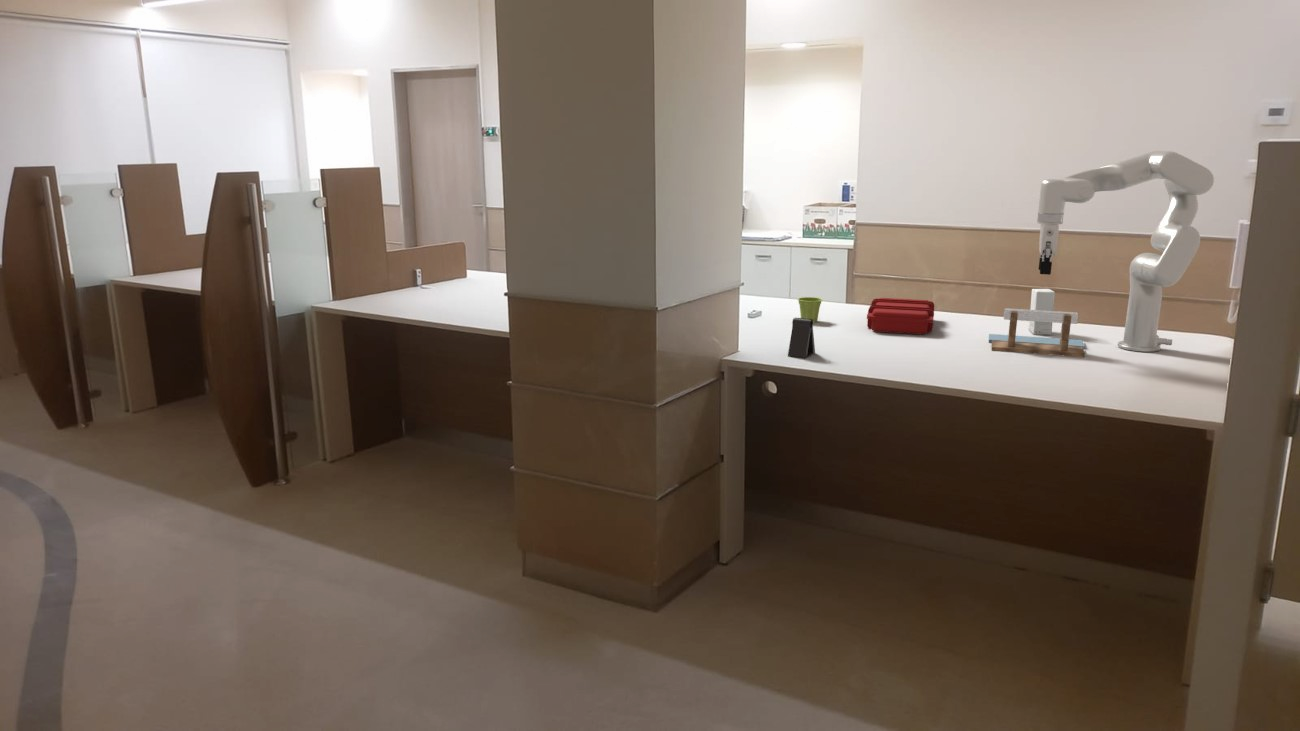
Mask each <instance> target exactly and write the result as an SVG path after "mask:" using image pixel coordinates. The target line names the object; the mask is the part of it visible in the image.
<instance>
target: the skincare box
mask: <svg viewBox="0 0 1300 731" xmlns="http://www.w3.org/2000/svg"><path fill="white" fill-rule="evenodd" d="M1055 295H1056V292H1055V291H1054V290H1052V289H1050V288H1032V289H1031V296H1030V297H1031V298H1030V309H1029V310H1044V311H1055V309H1054V307H1055ZM1028 322H1029V323H1028V331H1029V333H1031V334H1032V335H1036V336H1037V335H1039V336H1052V334H1053V333H1052V332H1053V322H1037V321H1028Z"/></svg>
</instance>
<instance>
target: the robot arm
mask: <svg viewBox="0 0 1300 731" xmlns="http://www.w3.org/2000/svg"><path fill="white" fill-rule="evenodd" d="M1155 179H1159V180H1164V181H1163V182H1164V187H1165V189H1166V191H1167V195H1168V204H1167V208H1166V210H1165V212H1164V213H1163V215H1162V217H1161V219H1160V220H1159V223H1158V224H1157V226H1156V227H1155V229H1154V231H1153V233H1152V234H1151V237H1150V245H1151V246H1152V248H1153V249H1155V250H1156V251H1159V252H1162V254H1159V253H1153V252H1143V253H1140V254H1138V255H1136V256H1135V257H1134V258H1133V259H1132V261H1131V262H1130V265H1129V294H1128V295H1129V296H1128V302H1127V310H1126V318H1125V324H1124V332H1123V334H1124V335H1123V340H1120V341H1118V342H1117V347H1118V348H1120V349H1123V350H1127V351H1132V352H1141V353H1142V352H1147V353H1153V352H1159V351H1160V350H1161V345H1165V346H1172V345H1173V339H1170V338H1163V337H1159V336H1158V328H1159V321H1160V316H1161V314H1160V313H1161V308H1162V307H1161V306H1162V300H1163V290H1162V287H1165V288H1167V287H1171V286H1174V285H1175V284H1177V283H1178V281H1180V279H1181V278H1182V277H1183V276H1184V274H1185V272H1186V271H1187V269H1188V267H1189V266H1190V264H1191V262H1192V261H1193V259H1194V257H1195V256H1196V254H1197V252H1198V250H1199V248H1200V245H1201V235H1200V234H1201V233H1200V232H1199V231H1198V229H1197V228H1195V227H1194V226H1191V225H1192V223H1193V221H1194V220H1195V218H1196V215H1197V214H1198V213H1197V212H1198V210H1199V202H1198V196H1201V195H1204V194H1206V193H1207V192H1209V191H1210V190H1211V189H1212V187H1213V186H1214V182H1215V177H1214V174H1213V172H1212V171H1210V169H1209V168H1207V167H1206V166H1204V165H1202V164H1199V163H1198V162H1196V161H1194V160H1192V159H1190V158H1189V157H1186V156H1184V155H1182V154H1180V153H1178V152H1175V151H1165V150H1164V151H1163V150H1155V151H1154V150H1153V151H1150V152H1147V153H1143V154H1141V155H1137V156H1134V157H1131V158H1127V159H1126V160H1122V161H1119V162H1116V163H1112V164H1108V165H1104V166H1100V167H1096V168H1092V169H1088V170H1085V171H1084V170H1083V171H1081V172H1078V173H1075V174H1072V175H1069V176H1066V177H1064V178H1062V179H1057V178H1055V179H1051V178H1050V179H1044V180H1042V182H1041V184H1040V191H1039V199H1038V200H1039V201H1038V209H1037V210H1038V211H1037V219H1036V224H1040V231H1039V240H1038V241H1039V244H1038V245H1039V246H1038V248H1039V254H1040V257H1039V261H1038V262H1039V263H1038V270H1039V274H1040V275H1049V276H1050V275H1051V274H1052V266H1053V262H1052V260H1053V258H1052V257H1053V256H1057V254H1058V252H1057V251H1058V242H1059V231H1060V229H1059V228H1060V225H1063V223H1064V214H1065V206H1066V203H1073V204H1084V203H1087V202H1088V201H1091V200H1092V198H1094V196H1095V193H1098V192H1112V191H1119V190H1124V189H1127V188H1128V189H1129V188H1131V187H1134V186H1136V185H1139V184H1142V183H1145V182H1149V181H1152V180H1155Z"/></svg>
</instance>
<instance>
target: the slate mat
mask: <svg viewBox="0 0 1300 731" xmlns="http://www.w3.org/2000/svg"><path fill="white" fill-rule="evenodd" d="M1008 335H1009V334H997V333H989V334H988V343H989V344H990V343H991V344H992V341H1005V342H1008ZM1015 342H1020V343H1034V344H1049V345H1060V338H1054V337H1043V336H1041V337H1040V336H1024V335H1016V337H1015ZM1068 346H1077V347H1083V350H1085V349H1086V346H1085V343H1084V341H1083V340H1082V339H1071V338H1069V343H1068Z"/></svg>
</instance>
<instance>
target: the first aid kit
mask: <svg viewBox="0 0 1300 731" xmlns="http://www.w3.org/2000/svg"><path fill="white" fill-rule="evenodd" d="M934 317H935V303H934V302H933V301H930V300H926V299H914V298H913V299H912V298H896V297H893V298H892V297H879V298H873V299H872V300H871V303H870V306H869V308H868V311H867V314H866V319H867V321H866V322H867V324H866V325H867V328H868V329H870V330H871V331H873V332H880V333H893V334H895V333H896V334H908V335H909V334H911V335H913V334H914V335H925V334H927V333H931V332H933V328H934V322H935V320H934Z"/></svg>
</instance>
